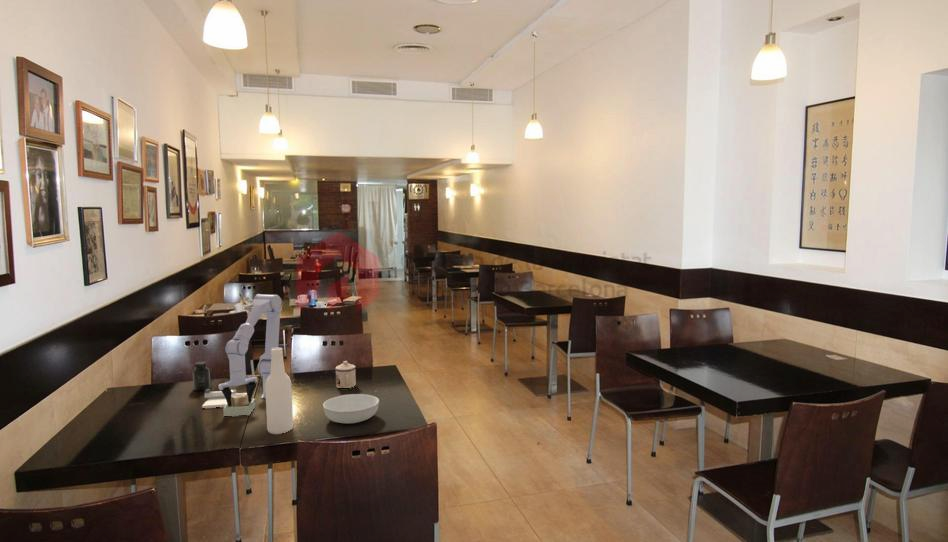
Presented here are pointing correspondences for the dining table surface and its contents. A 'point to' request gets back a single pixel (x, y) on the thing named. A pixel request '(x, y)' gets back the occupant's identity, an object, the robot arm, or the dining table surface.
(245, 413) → the tray
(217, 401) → the crank board
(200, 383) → the supplement bottle
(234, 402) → the block
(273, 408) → the alcohol
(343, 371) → the teacup with lid
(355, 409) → the serving bowl
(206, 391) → the crank arm
